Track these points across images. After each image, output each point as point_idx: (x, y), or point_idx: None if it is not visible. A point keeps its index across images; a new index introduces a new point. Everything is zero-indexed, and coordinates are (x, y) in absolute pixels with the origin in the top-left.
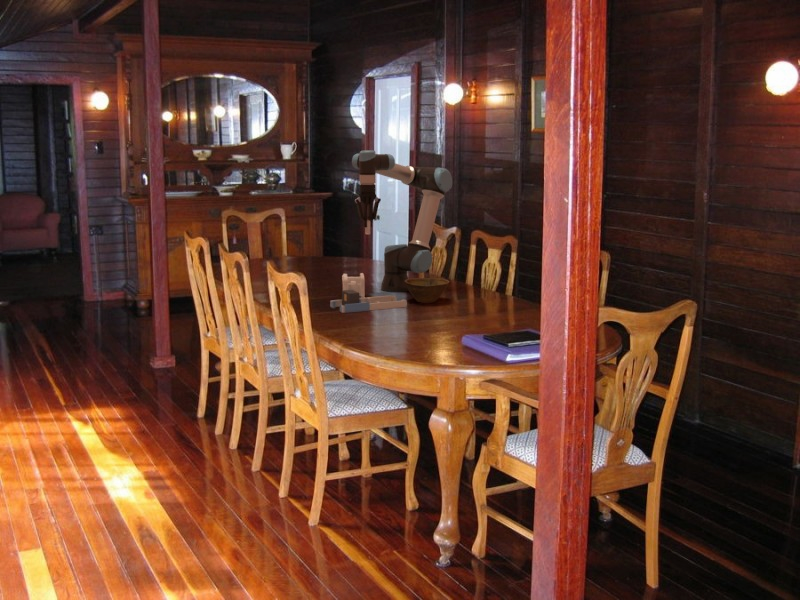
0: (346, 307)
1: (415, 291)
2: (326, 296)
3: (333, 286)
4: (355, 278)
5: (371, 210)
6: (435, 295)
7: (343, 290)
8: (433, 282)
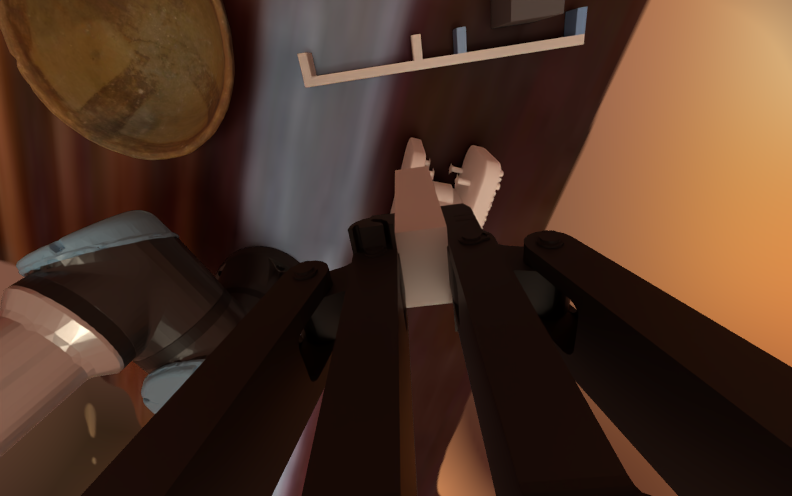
0: None
1: None
2: (503, 241)
3: (431, 363)
4: None
5: (354, 370)
6: None
7: (556, 10)
8: (103, 120)
